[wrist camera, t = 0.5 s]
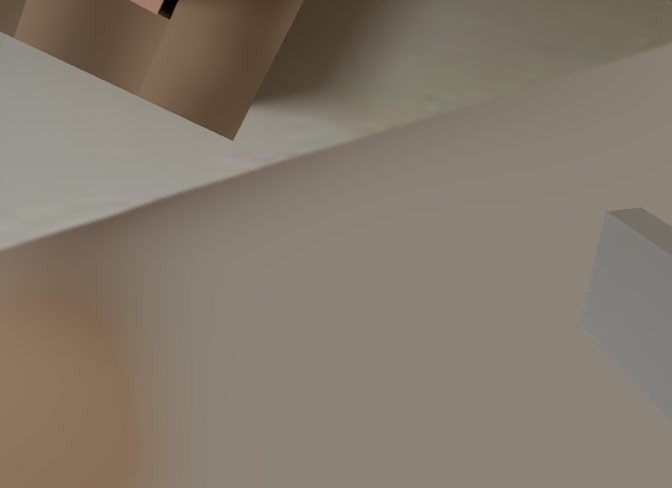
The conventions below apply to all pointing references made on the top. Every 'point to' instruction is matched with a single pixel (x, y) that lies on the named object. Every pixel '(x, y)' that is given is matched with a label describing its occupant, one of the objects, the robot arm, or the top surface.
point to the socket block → (164, 48)
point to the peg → (150, 4)
